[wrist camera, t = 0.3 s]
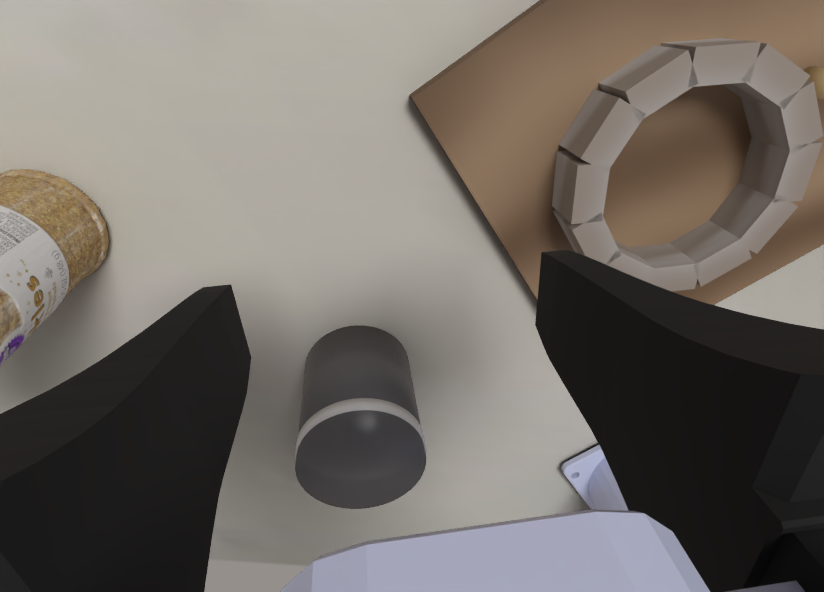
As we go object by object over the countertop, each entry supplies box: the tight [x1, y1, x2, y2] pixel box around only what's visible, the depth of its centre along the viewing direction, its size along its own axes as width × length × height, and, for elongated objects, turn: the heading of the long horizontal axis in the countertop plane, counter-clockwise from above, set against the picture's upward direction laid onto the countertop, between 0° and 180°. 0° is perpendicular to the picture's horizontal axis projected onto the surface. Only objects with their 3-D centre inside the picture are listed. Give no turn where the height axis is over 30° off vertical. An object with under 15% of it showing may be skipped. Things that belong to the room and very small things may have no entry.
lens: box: [295, 326, 426, 509], centre depth 22 cm, size 5×5×6 cm
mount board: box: [410, 0, 824, 305], centre depth 20 cm, size 16×14×3 cm
